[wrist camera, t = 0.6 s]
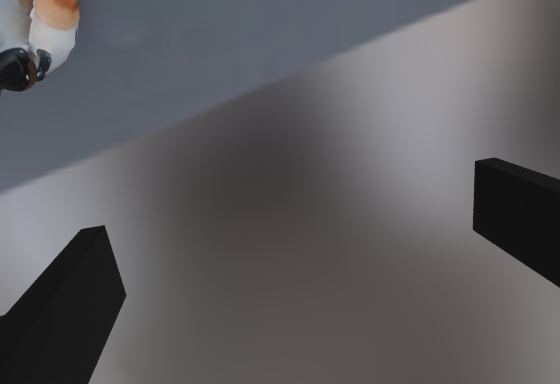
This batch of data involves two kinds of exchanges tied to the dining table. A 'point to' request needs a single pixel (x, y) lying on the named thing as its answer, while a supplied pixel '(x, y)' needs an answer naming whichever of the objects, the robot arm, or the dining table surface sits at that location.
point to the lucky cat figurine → (34, 39)
